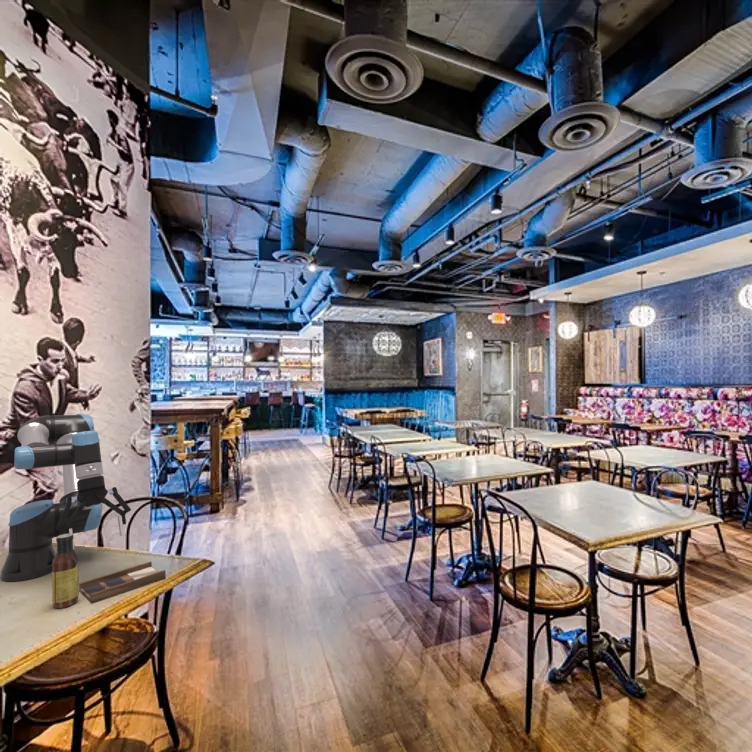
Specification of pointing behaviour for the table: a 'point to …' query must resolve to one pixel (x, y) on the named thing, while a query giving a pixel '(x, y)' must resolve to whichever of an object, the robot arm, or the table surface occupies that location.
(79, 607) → the table surface
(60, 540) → the sauce bottle
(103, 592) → the trap channel board
